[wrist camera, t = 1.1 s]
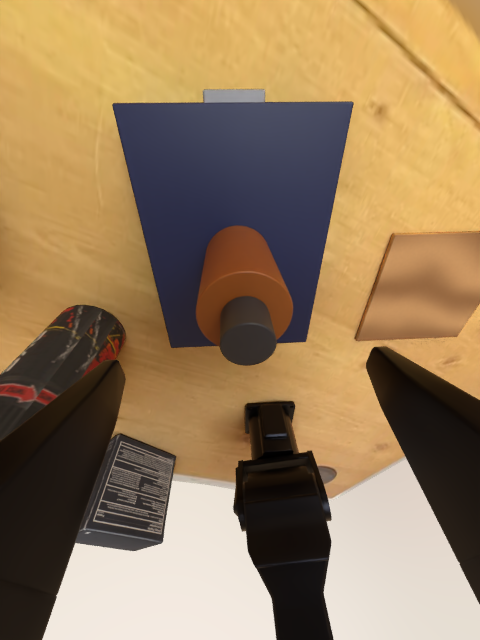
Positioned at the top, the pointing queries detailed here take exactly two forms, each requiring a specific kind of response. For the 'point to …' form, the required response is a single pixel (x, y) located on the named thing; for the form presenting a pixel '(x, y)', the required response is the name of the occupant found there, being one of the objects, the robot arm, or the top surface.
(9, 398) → the deodorant
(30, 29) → the top surface
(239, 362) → the bottle
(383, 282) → the coaster
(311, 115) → the case
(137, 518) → the small box
